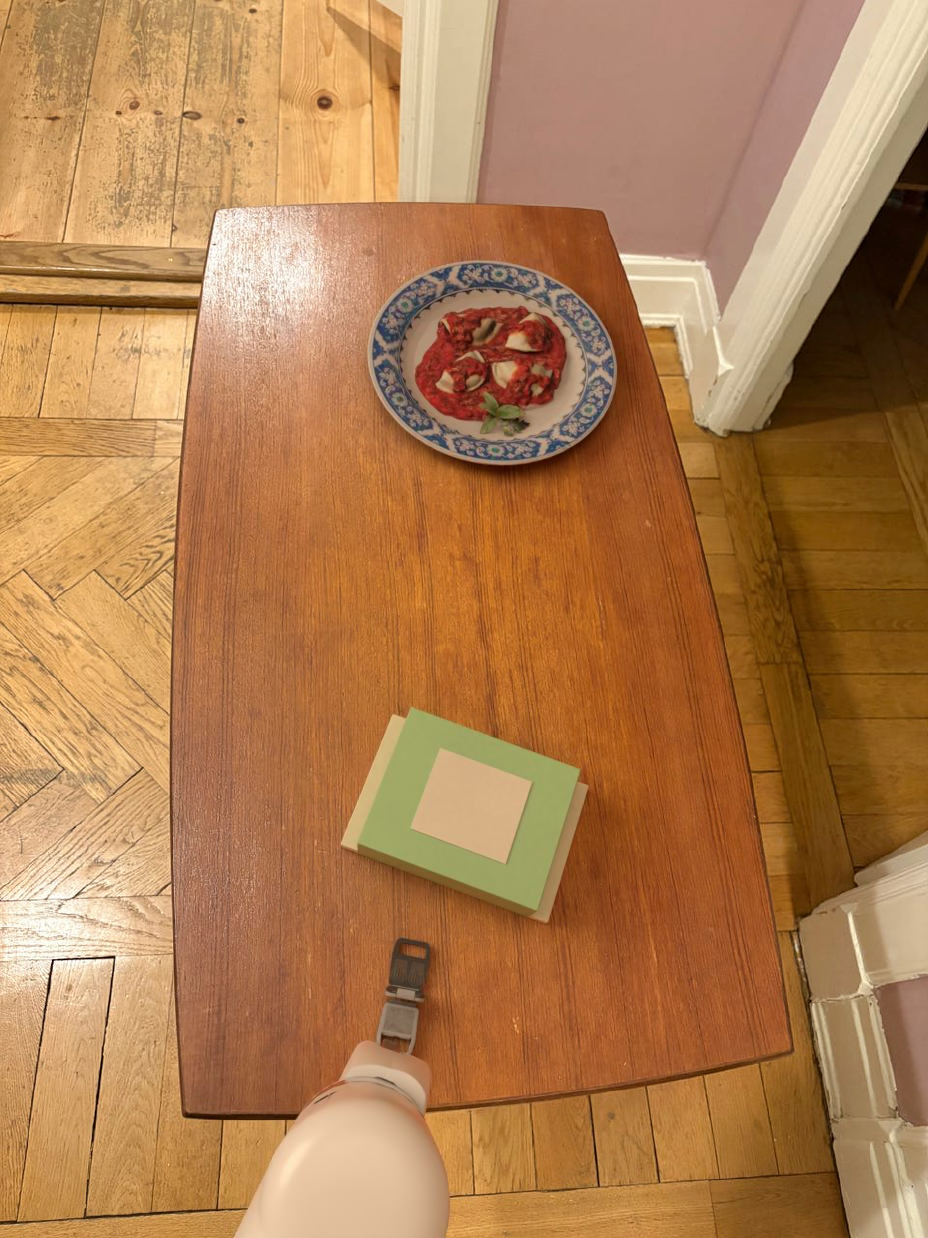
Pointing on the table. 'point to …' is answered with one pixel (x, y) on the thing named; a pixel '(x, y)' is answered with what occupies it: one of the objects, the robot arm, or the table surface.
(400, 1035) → the strap clip
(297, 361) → the table surface
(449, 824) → the green block with label
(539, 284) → the ceramic plate
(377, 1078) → the robot arm
